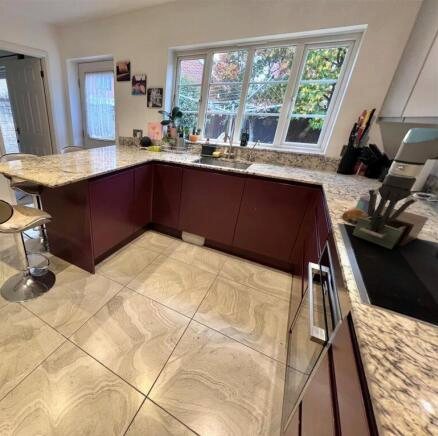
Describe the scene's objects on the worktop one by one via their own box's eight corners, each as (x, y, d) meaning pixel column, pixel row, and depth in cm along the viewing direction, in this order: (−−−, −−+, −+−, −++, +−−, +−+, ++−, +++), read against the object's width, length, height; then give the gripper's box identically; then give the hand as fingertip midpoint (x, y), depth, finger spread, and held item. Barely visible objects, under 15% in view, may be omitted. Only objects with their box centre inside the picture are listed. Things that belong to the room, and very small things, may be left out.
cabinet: (401, 246, 92) (414, 224, 88) (359, 231, 103) (369, 211, 99) (416, 238, 99) (428, 217, 95) (375, 225, 110) (385, 206, 106)
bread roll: (365, 231, 111) (377, 217, 109) (355, 225, 107) (368, 210, 105) (344, 222, 120) (355, 209, 118) (334, 216, 116) (345, 202, 113)
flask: (367, 218, 117) (377, 198, 113) (360, 217, 118) (369, 197, 114) (357, 211, 126) (366, 192, 121) (351, 210, 126) (359, 192, 122)
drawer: (385, 252, 86) (395, 233, 82) (346, 237, 96) (354, 219, 92) (405, 241, 94) (415, 223, 91) (367, 228, 104) (375, 212, 101)
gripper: (373, 172, 84) (347, 229, 94) (424, 181, 74) (389, 244, 84) (382, 170, 87) (356, 225, 97) (432, 179, 77) (397, 240, 87)
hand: (371, 234), depth 91 cm, fingers closed
